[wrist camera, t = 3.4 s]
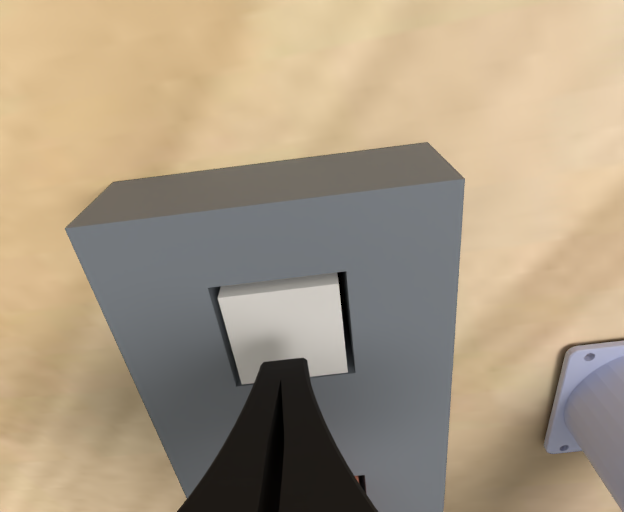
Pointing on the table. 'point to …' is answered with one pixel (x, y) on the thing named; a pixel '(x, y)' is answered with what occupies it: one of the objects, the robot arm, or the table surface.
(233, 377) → the button panel
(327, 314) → the white cube
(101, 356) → the table surface
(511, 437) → the table surface
